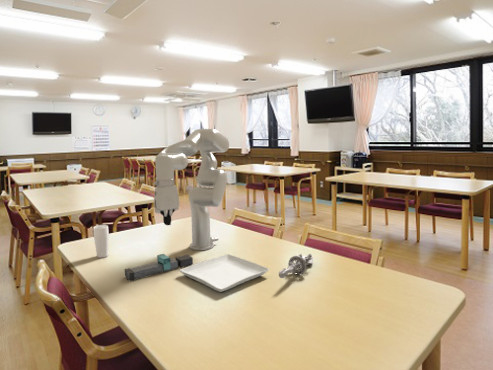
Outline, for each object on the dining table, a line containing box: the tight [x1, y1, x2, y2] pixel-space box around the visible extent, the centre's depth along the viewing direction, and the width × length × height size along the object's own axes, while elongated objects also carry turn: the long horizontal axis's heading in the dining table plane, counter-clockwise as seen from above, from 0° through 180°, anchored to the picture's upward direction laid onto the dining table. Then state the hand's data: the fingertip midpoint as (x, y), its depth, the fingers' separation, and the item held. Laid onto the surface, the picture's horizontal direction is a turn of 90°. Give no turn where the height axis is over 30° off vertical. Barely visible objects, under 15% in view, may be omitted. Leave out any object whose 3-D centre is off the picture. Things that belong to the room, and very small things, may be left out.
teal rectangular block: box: [156, 253, 171, 270], centre depth 152 cm, size 3×7×5 cm, turn 37°
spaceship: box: [278, 253, 314, 279], centre depth 146 cm, size 8×35×8 cm
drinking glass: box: [92, 224, 110, 259], centre depth 169 cm, size 7×7×15 cm
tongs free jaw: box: [124, 257, 176, 279], centre depth 150 cm, size 22×3×3 cm, turn 128°
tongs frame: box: [126, 254, 194, 282], centre depth 151 cm, size 29×6×3 cm, turn 128°
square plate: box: [179, 253, 271, 293], centre depth 145 cm, size 27×27×4 cm
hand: (167, 224), depth 153 cm, fingers closed
